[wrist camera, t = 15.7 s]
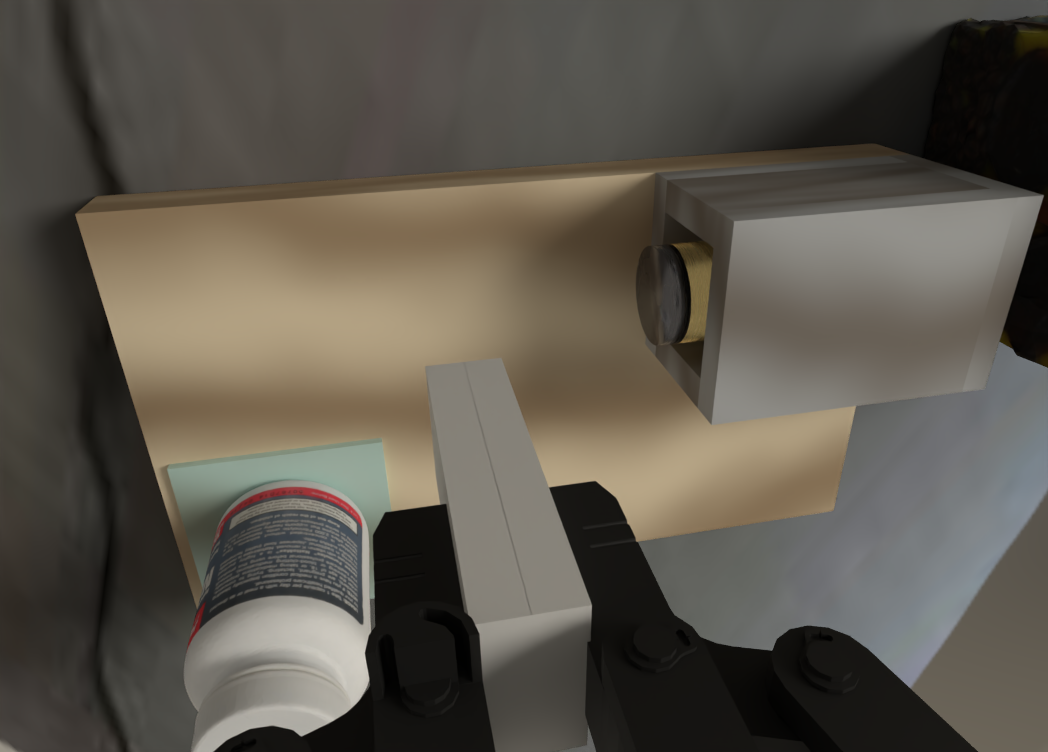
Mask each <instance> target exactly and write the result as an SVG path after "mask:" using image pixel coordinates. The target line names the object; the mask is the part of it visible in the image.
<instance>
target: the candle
mask: <svg viewBox="0 0 1048 752" xmlns="http://www.w3.org/2000/svg"><path fill="white" fill-rule="evenodd" d="M933 110H934V119H933V122H932V124H931V127H930V130H929V135H928V139H927V142H926V146H925V153H926V155H925V158H924V159H927V160H930V161H933V162H936V163H940V164H943V165H946V166H950V167H953V168H956V169H959V170H963V171H966V172H969V173H972V174H976V175H979V176H982V177H986V178H989V179H992V180H995V181H999V182H1002V183H1005V184H1008V185H1012V186H1015V187H1018V188H1022V189H1025V190H1028V191H1031V192H1035V193H1038V194H1041V195H1044V197H1043V200H1042V203H1041V206H1040V210H1039V213H1038V216H1037V220H1036V223H1035V226H1034V229H1033V233H1032V236H1031V239H1030V243H1029V246H1028V249H1027V252H1026V256H1025V259H1024V262H1023V266H1022V269H1021V272H1020V275H1019V279H1018V282H1017V285H1016V288H1015V292H1014V295H1013V298H1012V302H1011V305H1010V308H1009V311H1008V315H1007V318H1006V321H1005V325H1004V328H1003V331H1002V334H1001V338H1000V341H999V342H1001V343H1003V344H1005V345H1007V346H1009V347H1010V348H1012V349H1013V350H1014V352H1015V353H1016V355H1017V356H1020V357H1022V358H1025V359H1028V360H1030V361H1033V362H1035V363H1038V364H1040V365H1043V366H1045V367H1047V368H1048V16H1036V17H1031V18H1030V17H1027V16H1026V17H1024V18H1021V19H1017V20H1010V21H998V20H991V21H986V20H983V21H981V22H979V21H977V20H974V19H972V18H970V19H967V20H965V21H963V22H961V23H959V24H958V25H957V26H956V28H955V29H954V31H953V33H952V36H951V39H950V43H949V46H948V48H947V51H946V54H945V57H944V67H943V78H942V80H941V82H940V84H939V86H938V88H937V90H936V95H935V102H934V109H933Z"/></svg>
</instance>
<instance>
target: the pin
mask: <svg viewBox="0 0 1048 752" xmlns="http://www.w3.org/2000/svg"><path fill="white" fill-rule="evenodd" d="M713 249H714V248H713V247H712V246H711V245H709V244H708V243H707V242H705V241H697V242H686V243H674V244H663V245H652V246H647V247H645V248H644V250H643V251H642V253H641V255H640V258H639V261H638V266H637V272H636V300H637V307H638V313H639V318H640V322H641V325H642V328H643V330H644V333H645V335H646V337H647V338H648V340H649V341H650V342H651V343H652V344H653V345H655V346H660V345H669V344H678V343H687V342H696V341H704V339H705V329H706V319H707V309H708V299H709V289H710V279H711V269H712V259H713Z"/></svg>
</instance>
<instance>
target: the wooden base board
mask: <svg viewBox="0 0 1048 752" xmlns="http://www.w3.org/2000/svg"><path fill="white" fill-rule="evenodd" d="M1043 197H1044V195H1041V194H1038V193H1035V192H1031V191H1028V190H1025V189H1022V188H1018V187H1015V186H1012V185H1008V184H1005V183H1002V182H999V181H995V180H992V179H989V178H986V177H982V176H979V175H976V174H972V173H969V172H966V171H963V170H959V169H956V168H953V167H950V166H946V165H943V164H940V163H936V162H933V161H930V160H927V159H923V158H920V157H917V156H913V155H910V154H907V153H904V152H900V151H897V150H894V149H891V148H887V147H884V146H881V145H877V144H874V143H873V144H858V145H843V146H829V147H814V148H799V149H784V150H770V151H755V152H740V153H726V154H711V155H696V156H682V157H667V158H652V159H637V160H623V161H608V162H593V163H579V164H564V165H549V166H534V167H520V168H505V169H490V170H476V171H461V172H446V173H431V174H417V175H402V176H387V177H373V178H358V179H343V180H328V181H314V182H299V183H284V184H270V185H255V186H240V187H225V188H211V189H196V190H181V191H167V192H152V193H137V194H122V195H108V196H96V197H95V198H94V199H93V200H91V201H90V202H89V203H88V204H87V205H85V206H84V207H83V208H82V209H81V210H79V211H78V212H77V213H76V214H75V215H76V219H77V222H78V225H79V228H80V232H81V235H82V238H83V241H84V244H85V248H86V251H87V254H88V257H89V261H90V264H91V267H92V270H93V274H94V277H95V280H96V283H97V287H98V290H99V293H100V296H101V299H102V303H103V306H104V309H105V312H106V316H107V319H108V322H109V325H110V329H111V332H112V335H113V338H114V342H115V345H116V348H117V351H118V355H119V358H120V361H121V364H122V367H123V371H124V374H125V377H126V380H127V384H128V387H129V390H130V393H131V397H132V400H133V403H134V406H135V410H136V413H137V416H138V419H139V423H140V426H141V429H142V432H143V435H144V439H145V442H146V445H147V448H148V452H149V455H150V458H151V461H152V465H153V468H154V471H155V474H156V478H157V481H158V484H159V487H160V491H161V494H162V497H163V500H164V503H165V507H166V510H167V513H168V516H169V520H170V523H171V526H172V529H173V533H174V536H175V539H176V542H177V546H178V549H179V552H180V555H181V559H182V562H183V565H184V568H185V571H186V575H187V578H188V581H189V584H190V588H191V591H192V594H193V597H194V601H195V604H196V607H197V609H198V605H199V600H200V596H201V592H202V588H203V584H204V580H205V576H206V571H207V567H208V563H209V559H210V555H211V551H212V546H213V542H214V538H215V534H216V531H217V528H218V525H219V522H220V520H221V518H222V517H223V515H224V513H225V512H226V511H227V509H228V508H229V507H230V506H231V505H232V504H233V503H234V502H235V501H236V500H237V499H239V498H240V497H241V496H243V495H244V494H246V493H247V492H249V491H251V490H253V489H255V488H257V487H260V486H263V485H265V484H269V483H273V482H278V481H285V480H305V481H312V482H317V483H321V484H324V485H327V486H329V487H332V488H334V489H336V490H338V491H340V492H341V493H343V494H344V495H346V496H347V497H348V498H349V499H350V500H352V501H353V503H354V504H355V505H356V506H357V507H358V509H359V510H360V511H361V513H362V515H363V517H364V519H365V521H366V524H367V528H368V534H369V569H370V599H373V598H375V595H374V561H373V534H374V532H375V530H376V528H377V526H378V524H379V523H380V521H381V519H382V517H383V515H384V513H385V512H391V511H398V510H405V509H412V508H419V507H426V506H433V505H440V500H439V494H438V487H437V481H436V472H435V462H434V452H433V441H432V431H431V421H430V410H429V400H428V390H427V379H426V369H425V366H432V365H441V364H450V363H459V362H468V361H477V360H486V359H495V358H502V361H503V364H504V367H505V369H506V372H507V375H508V377H509V380H510V383H511V386H512V388H513V391H514V394H515V397H516V399H517V402H518V405H519V408H520V410H521V413H522V416H523V418H524V421H525V424H526V427H527V429H528V432H529V435H530V438H531V440H532V443H533V446H534V448H535V451H536V454H537V457H538V459H539V462H540V465H541V468H542V470H543V473H544V476H545V478H546V481H547V484H548V487H555V486H562V485H569V484H576V483H583V482H590V481H596V482H598V483H599V484H600V485H601V486H602V487H604V488H605V489H606V490H607V491H608V492H610V493H611V494H612V495H613V496H615V497H616V498H617V500H618V502H619V504H620V506H621V508H622V510H623V513H624V515H625V517H626V519H627V523H628V524H629V525H630V527H631V529H632V531H633V533H634V535H635V537H636V542H638V541H644V540H650V539H657V538H663V537H669V536H676V535H682V534H689V533H695V532H701V531H708V530H714V529H720V528H727V527H733V526H740V525H746V524H752V523H759V522H765V521H771V520H778V519H784V518H790V517H797V516H803V515H810V514H816V513H822V512H829V511H833V510H834V506H835V501H836V496H837V492H838V487H839V482H840V478H841V473H842V468H843V464H844V459H845V454H846V450H847V445H848V440H849V436H850V431H851V427H852V422H853V417H854V413H855V408H856V406H860V405H867V404H875V403H883V402H890V401H898V400H905V399H913V398H920V397H928V396H936V395H943V394H951V393H958V392H966V391H973V390H981V389H985V387H986V384H987V380H988V377H989V374H990V370H991V367H992V364H993V361H994V357H995V354H996V351H997V348H998V344H999V341H1000V338H1001V334H1002V331H1003V328H1004V325H1005V321H1006V318H1007V315H1008V311H1009V308H1010V305H1011V302H1012V298H1013V295H1014V292H1015V288H1016V285H1017V282H1018V279H1019V275H1020V272H1021V269H1022V266H1023V262H1024V259H1025V256H1026V252H1027V249H1028V246H1029V243H1030V239H1031V236H1032V233H1033V229H1034V226H1035V223H1036V220H1037V216H1038V213H1039V210H1040V206H1041V203H1042V200H1043ZM697 241H705V242H707V243H708V244H709V245H711V246H712V247H713V248H714V249H713V259H712V269H711V279H710V289H709V299H708V309H707V319H706V329H705V339H704V341H696V342H687V343H678V344H669V345H660V346H655V345H653V344H652V343H651V342H650V341H649V340H648V338H647V337H646V335H645V333H644V330H643V328H642V325H641V322H640V318H639V313H638V307H637V300H636V272H637V266H638V261H639V258H640V255H641V253H642V251H643V250H644V248H645V247H647V246H652V245H663V244H674V243H686V242H697Z"/></svg>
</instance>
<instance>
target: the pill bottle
mask: <svg viewBox="0 0 1048 752" xmlns="http://www.w3.org/2000/svg"><path fill="white" fill-rule="evenodd" d="M370 633H371V624H370V569H369V534H368V528H367V524H366V521H365V519H364V517H363V515H362V513H361V511H360V510H359V509H358V507H357V506H356V505H355V504H354V503H353V501H352V500H350V499H349V498H348V497H347V496H346V495H344V494H343V493H341V492H340V491H338V490H336V489H334V488H332V487H329V486H327V485H324V484H321V483H317V482H312V481H305V480H285V481H278V482H273V483H269V484H265V485H263V486H260V487H257V488H255V489H253V490H251V491H249V492H247V493H246V494H244V495H243V496H241V497H240V498H239V499H237V500H236V501H235V502H234V503H233V504H232V505H231V506H230V507H229V508H228V509H227V511H226V512H225V513H224V515H223V517H222V518H221V520H220V522H219V525H218V528H217V531H216V534H215V538H214V542H213V546H212V551H211V555H210V559H209V563H208V567H207V571H206V576H205V580H204V584H203V588H202V592H201V596H200V600H199V605H198V609H197V613H196V616H195V620H194V624H193V628H192V632H191V635H190V639H189V643H188V648H187V652H186V658H185V665H184V682H185V687H186V691H187V694H188V696H189V698H190V700H191V702H192V704H193V705H194V707H195V708H196V709H197V711H198V715H197V718H196V722H195V732H194V737H193V742H192V748H191V752H213V751H215V750H216V749H217V748H218V747H219V746H220V745H222V744H223V743H224V742H225V741H226V740H228V739H230V738H232V737H234V736H236V735H238V734H240V733H242V732H244V731H247V730H249V729H252V728H259V727H266V726H278V727H282V728H287V729H291V730H294V731H295V732H296V733H297V734H299V735H300V736H301V737H302V736H304V735H306V734H308V733H310V732H312V731H314V730H316V729H318V728H320V727H322V726H324V725H326V724H328V723H330V722H332V721H334V720H335V719H337V718H339V717H340V716H342V715H343V714H345V713H347V712H348V711H349V710H350V709H351V708H352V707H353V706H354V705H356V703H357V702H358V701H359V700H360V698H361V696H362V695H363V693H364V691H365V689H366V687H367V685H368V682H369V675H368V669H367V664H366V658H365V650H366V645H367V641H368V637H369V634H370Z"/></svg>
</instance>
